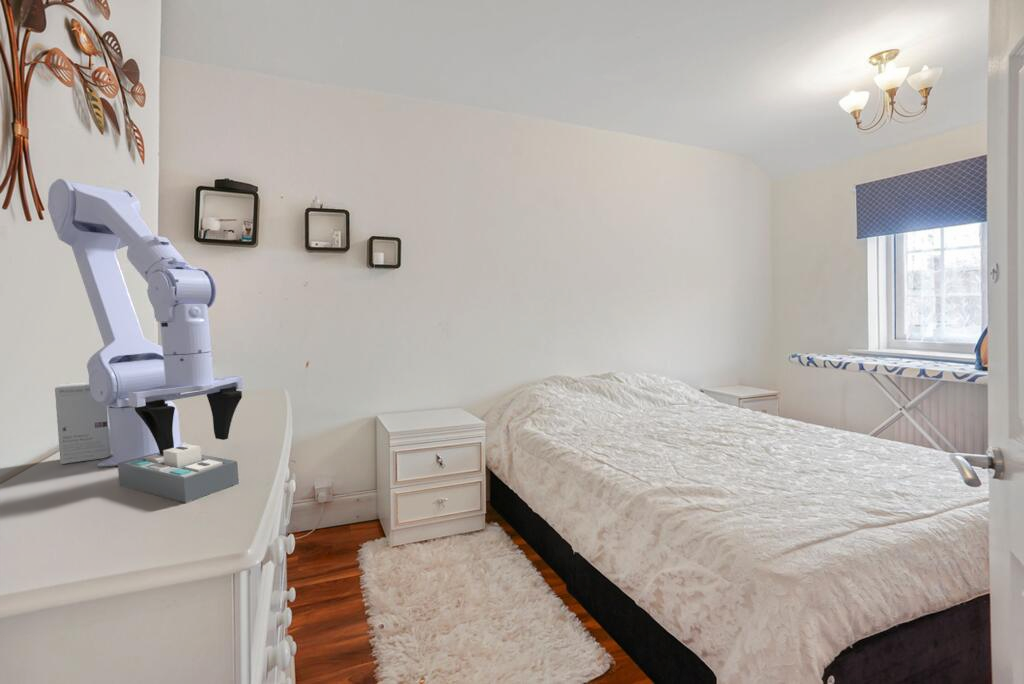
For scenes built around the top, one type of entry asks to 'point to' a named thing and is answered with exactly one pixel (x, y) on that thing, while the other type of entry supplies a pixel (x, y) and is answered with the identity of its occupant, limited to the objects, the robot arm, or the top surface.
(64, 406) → the skincare box
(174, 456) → the button middle
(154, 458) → the button
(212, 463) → the button
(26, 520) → the top surface
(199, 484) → the console
